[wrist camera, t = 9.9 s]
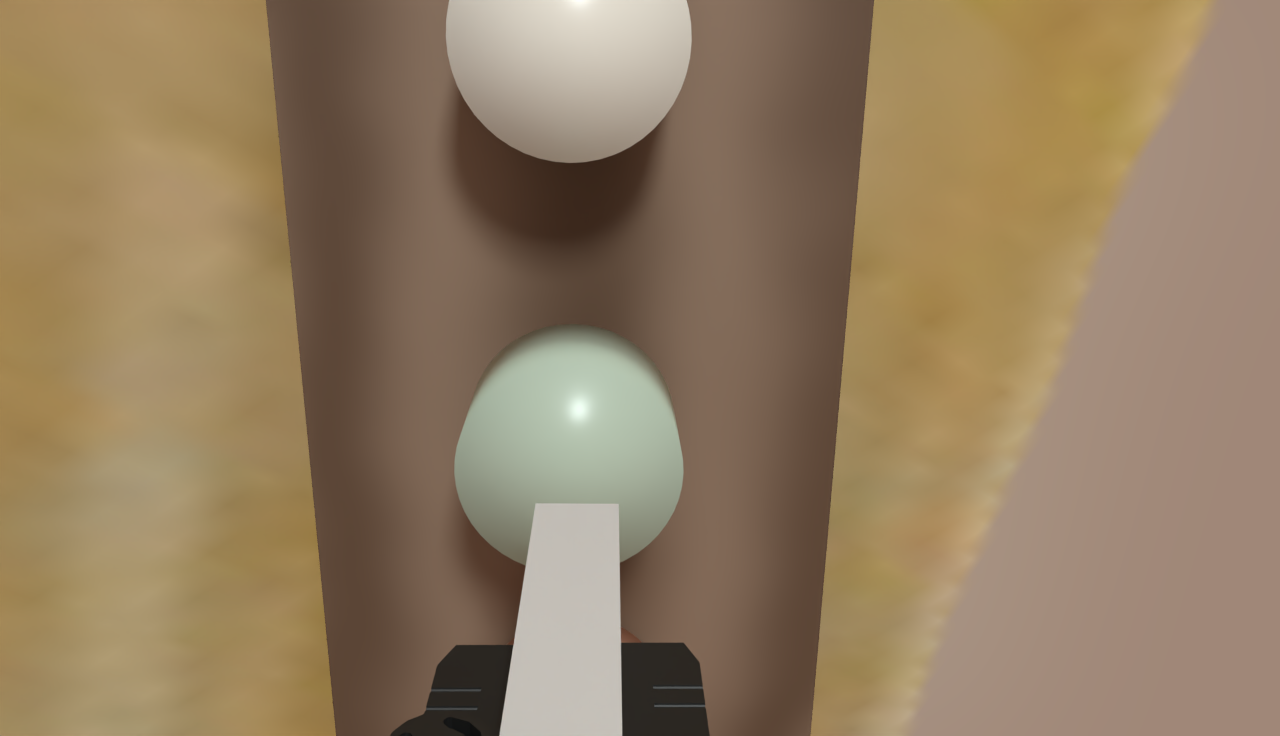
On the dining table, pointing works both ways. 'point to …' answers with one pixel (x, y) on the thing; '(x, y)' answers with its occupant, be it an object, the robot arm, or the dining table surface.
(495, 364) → the sage button
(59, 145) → the dining table surface
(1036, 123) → the dining table surface
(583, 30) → the cream button
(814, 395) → the button board
